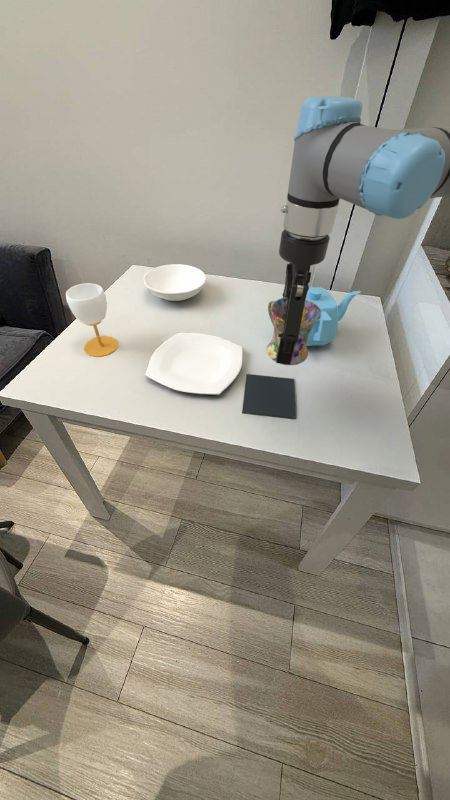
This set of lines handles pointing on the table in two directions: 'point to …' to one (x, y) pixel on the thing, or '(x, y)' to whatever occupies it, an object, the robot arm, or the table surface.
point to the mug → (308, 321)
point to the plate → (196, 363)
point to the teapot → (326, 315)
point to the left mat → (269, 396)
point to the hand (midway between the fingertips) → (283, 347)
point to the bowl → (174, 281)
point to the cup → (91, 316)
